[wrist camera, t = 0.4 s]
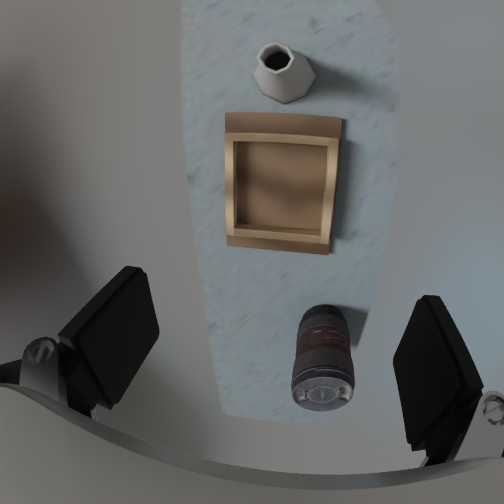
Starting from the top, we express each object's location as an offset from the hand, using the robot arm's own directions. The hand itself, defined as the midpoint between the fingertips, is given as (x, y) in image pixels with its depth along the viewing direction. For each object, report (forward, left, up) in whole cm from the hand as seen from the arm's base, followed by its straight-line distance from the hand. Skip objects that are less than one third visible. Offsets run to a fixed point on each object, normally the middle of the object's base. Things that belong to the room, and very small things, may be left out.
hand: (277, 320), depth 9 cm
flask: (-12, -2, -28) cm, 31 cm away
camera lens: (+23, +6, -28) cm, 37 cm away
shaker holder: (+2, -2, -28) cm, 28 cm away
